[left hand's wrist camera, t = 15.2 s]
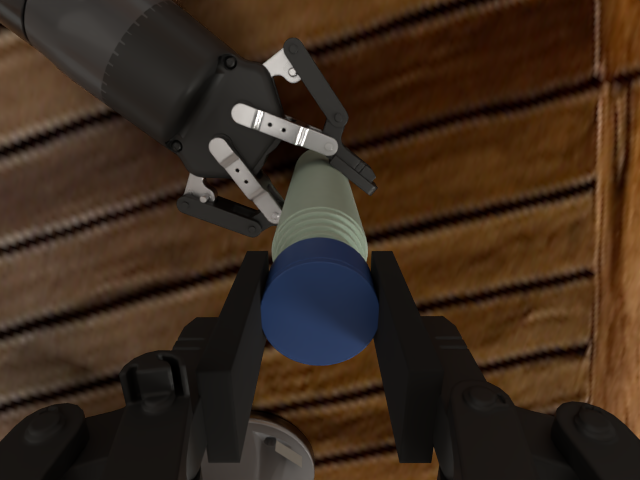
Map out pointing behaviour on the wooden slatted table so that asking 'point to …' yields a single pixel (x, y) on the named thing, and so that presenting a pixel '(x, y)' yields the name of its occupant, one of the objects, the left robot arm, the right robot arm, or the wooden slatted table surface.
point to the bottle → (319, 207)
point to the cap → (319, 302)
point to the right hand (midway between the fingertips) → (349, 214)
